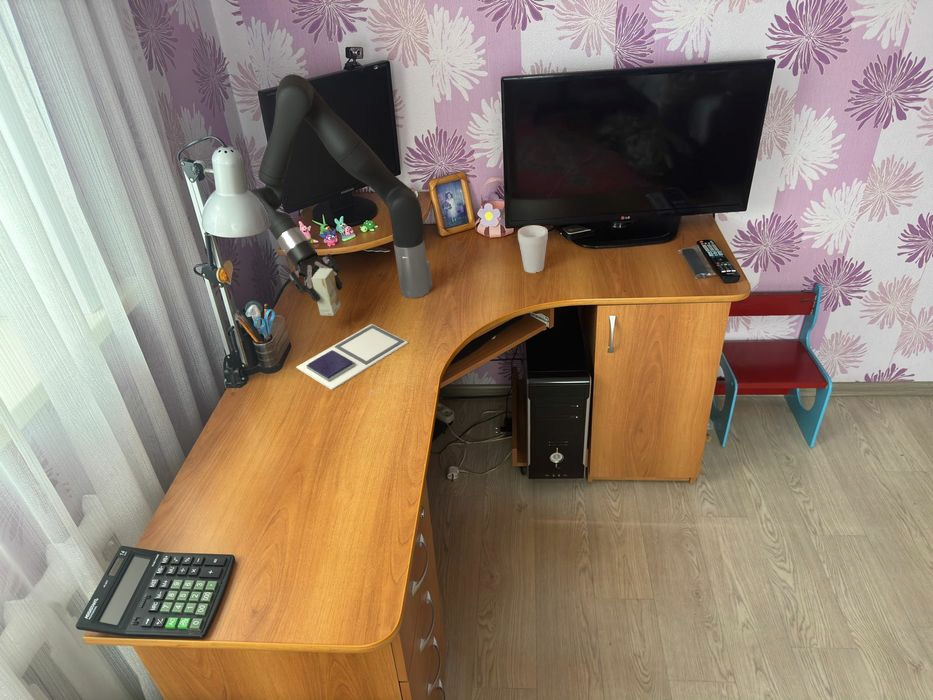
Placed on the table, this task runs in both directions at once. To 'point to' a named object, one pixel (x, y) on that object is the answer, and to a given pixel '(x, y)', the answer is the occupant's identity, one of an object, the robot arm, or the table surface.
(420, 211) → the robot arm
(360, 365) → the marked board
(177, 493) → the table surface
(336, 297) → the skincare box
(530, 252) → the foam cup
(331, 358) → the ink pad
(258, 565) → the table surface
